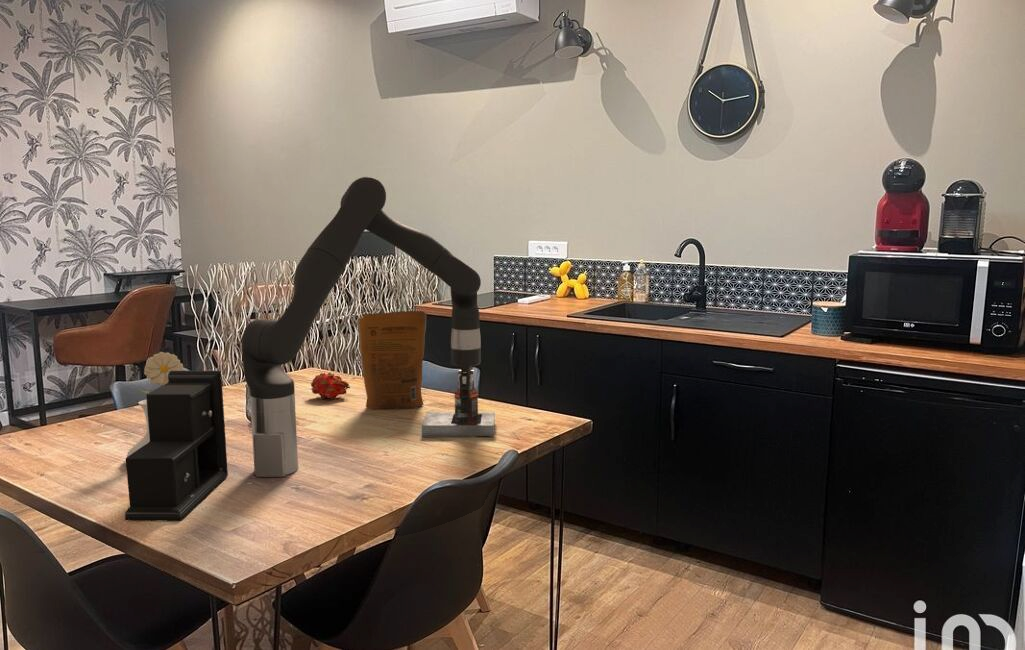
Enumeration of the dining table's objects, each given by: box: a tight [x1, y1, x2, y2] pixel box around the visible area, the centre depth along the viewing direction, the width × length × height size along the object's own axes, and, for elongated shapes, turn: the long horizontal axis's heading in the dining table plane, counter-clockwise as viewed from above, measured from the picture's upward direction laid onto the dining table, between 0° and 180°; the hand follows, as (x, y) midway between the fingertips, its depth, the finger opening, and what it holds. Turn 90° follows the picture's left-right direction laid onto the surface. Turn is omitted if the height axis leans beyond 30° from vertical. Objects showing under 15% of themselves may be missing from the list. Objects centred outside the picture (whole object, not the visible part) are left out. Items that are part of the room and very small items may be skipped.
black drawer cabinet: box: [124, 370, 229, 522], centre depth 150 cm, size 23×11×24 cm, turn 0°
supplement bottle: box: [454, 379, 479, 424], centre depth 196 cm, size 6×6×11 cm
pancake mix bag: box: [357, 310, 427, 410], centre depth 216 cm, size 7×19×28 cm, turn 96°
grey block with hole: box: [420, 411, 496, 438], centre depth 197 cm, size 12×18×3 cm, turn 90°
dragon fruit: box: [310, 372, 351, 401], centre depth 229 cm, size 8×8×12 cm
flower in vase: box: [126, 351, 184, 458], centre depth 172 cm, size 13×11×25 cm
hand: (466, 409), depth 196 cm, fingers closed on supplement bottle, 6 cm apart
